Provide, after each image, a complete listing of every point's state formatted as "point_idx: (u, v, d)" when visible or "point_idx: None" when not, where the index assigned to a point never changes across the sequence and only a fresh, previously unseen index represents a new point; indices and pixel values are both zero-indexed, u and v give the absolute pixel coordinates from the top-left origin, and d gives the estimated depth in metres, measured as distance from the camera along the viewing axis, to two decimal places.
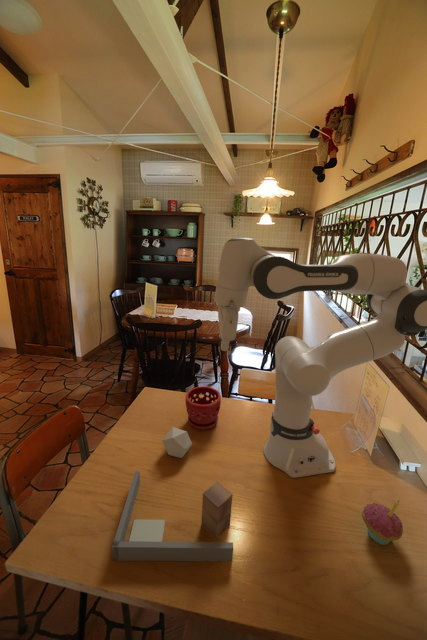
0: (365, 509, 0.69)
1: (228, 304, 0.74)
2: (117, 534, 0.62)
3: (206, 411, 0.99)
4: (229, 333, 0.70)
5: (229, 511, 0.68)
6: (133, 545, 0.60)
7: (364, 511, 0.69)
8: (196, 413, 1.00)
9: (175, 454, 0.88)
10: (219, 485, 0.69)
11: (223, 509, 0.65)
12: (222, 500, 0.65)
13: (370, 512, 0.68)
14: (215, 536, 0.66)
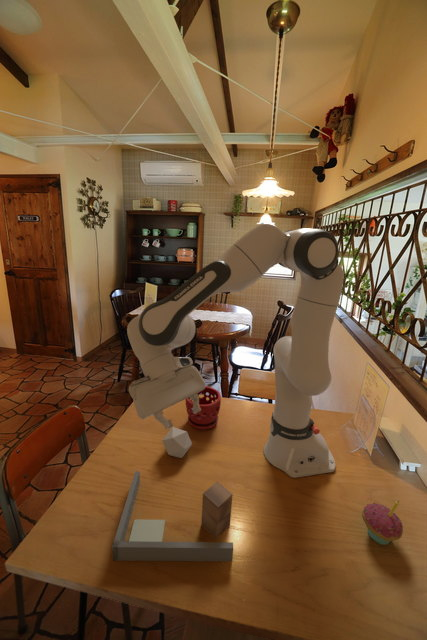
0: (365, 509, 0.69)
1: None
2: (117, 534, 0.62)
3: (206, 411, 0.99)
4: (139, 410, 0.65)
5: (229, 511, 0.68)
6: (133, 545, 0.60)
7: (364, 511, 0.69)
8: (196, 413, 1.00)
9: (175, 454, 0.88)
10: (219, 485, 0.69)
11: (223, 509, 0.65)
12: (222, 500, 0.65)
13: (370, 512, 0.68)
14: (215, 536, 0.66)
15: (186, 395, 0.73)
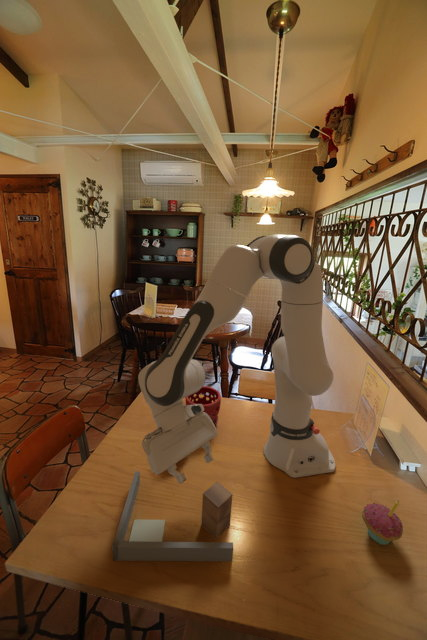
0: (365, 509, 0.69)
1: None
2: (117, 534, 0.62)
3: (206, 411, 0.99)
4: (152, 466, 0.66)
5: (229, 511, 0.68)
6: (133, 545, 0.60)
7: (364, 511, 0.69)
8: None
9: None
10: (219, 485, 0.69)
11: (223, 509, 0.65)
12: (222, 500, 0.65)
13: (370, 512, 0.68)
14: (215, 536, 0.66)
15: (198, 445, 0.73)
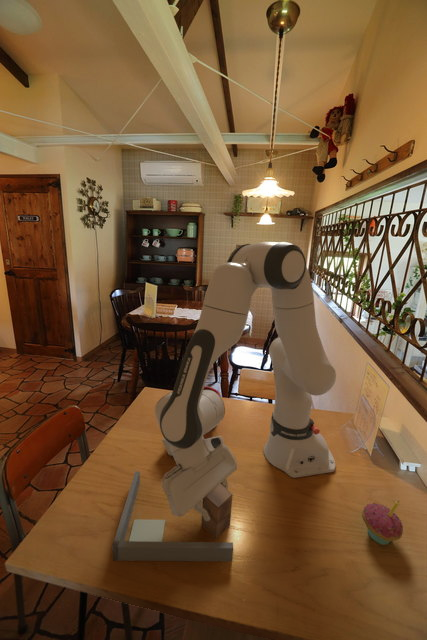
0: (365, 509, 0.69)
1: None
2: (117, 534, 0.62)
3: None
4: (173, 508, 0.62)
5: (229, 511, 0.68)
6: (133, 545, 0.60)
7: (364, 511, 0.69)
8: None
9: None
10: (219, 485, 0.69)
11: (223, 509, 0.65)
12: (222, 500, 0.65)
13: (370, 512, 0.68)
14: (215, 536, 0.66)
15: (219, 481, 0.69)
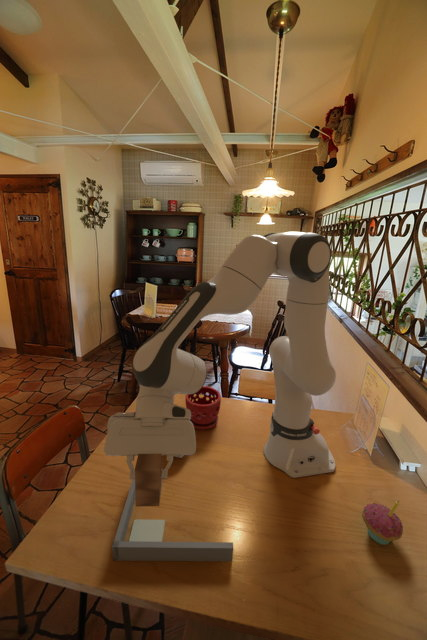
0: (365, 509, 0.69)
1: None
2: (117, 534, 0.62)
3: (206, 411, 0.99)
4: None
5: (156, 487, 0.59)
6: (133, 545, 0.60)
7: (364, 511, 0.69)
8: (196, 413, 1.00)
9: None
10: (159, 455, 0.61)
11: (144, 477, 0.58)
12: (144, 467, 0.58)
13: (370, 512, 0.68)
14: None
15: (161, 452, 0.62)
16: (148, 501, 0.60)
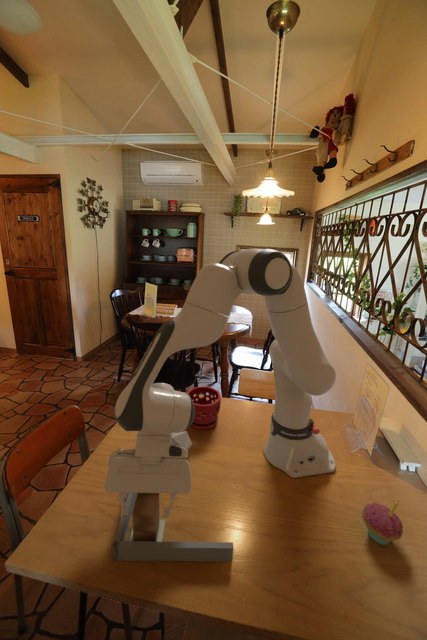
0: (365, 509, 0.69)
1: None
2: (117, 534, 0.62)
3: (206, 411, 0.99)
4: None
5: (152, 530, 0.62)
6: (133, 545, 0.60)
7: (364, 511, 0.69)
8: (196, 413, 1.00)
9: None
10: (155, 497, 0.64)
11: (141, 520, 0.61)
12: (141, 511, 0.61)
13: (370, 512, 0.68)
14: None
15: (158, 491, 0.65)
16: None
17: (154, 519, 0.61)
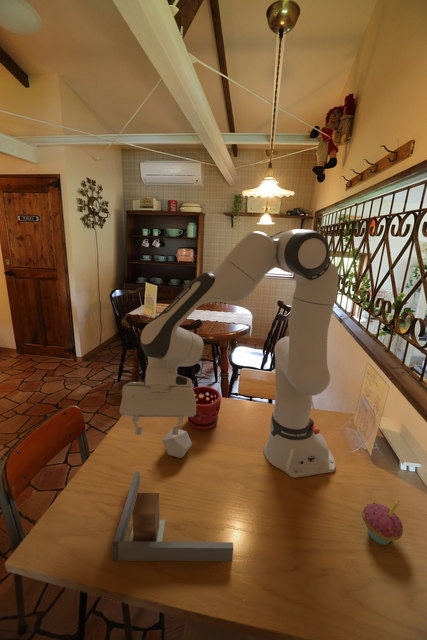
0: (365, 509, 0.69)
1: None
2: (117, 534, 0.62)
3: (206, 411, 0.99)
4: None
5: (152, 530, 0.62)
6: (133, 545, 0.60)
7: (364, 511, 0.69)
8: (196, 413, 1.00)
9: (175, 454, 0.88)
10: (155, 497, 0.64)
11: (141, 520, 0.61)
12: (141, 511, 0.61)
13: (370, 512, 0.68)
14: None
15: (167, 413, 0.74)
16: None
17: (154, 519, 0.61)
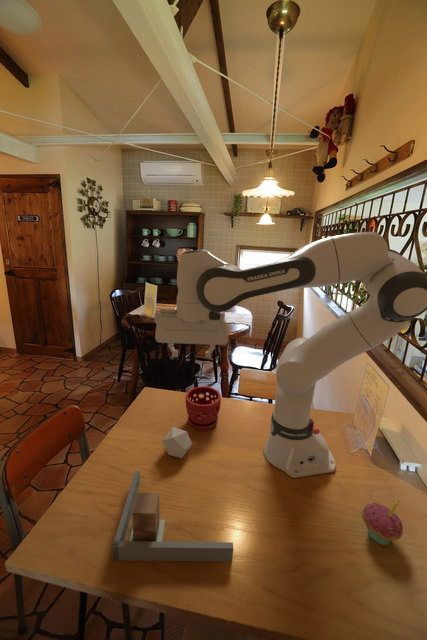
0: (365, 509, 0.69)
1: None
2: (117, 534, 0.62)
3: (206, 411, 0.99)
4: None
5: (152, 530, 0.62)
6: (133, 545, 0.60)
7: (364, 511, 0.69)
8: (196, 413, 1.00)
9: (175, 454, 0.88)
10: (155, 497, 0.64)
11: (141, 520, 0.61)
12: (141, 511, 0.61)
13: (370, 512, 0.68)
14: None
15: (200, 342, 0.77)
16: None
17: (154, 519, 0.61)
